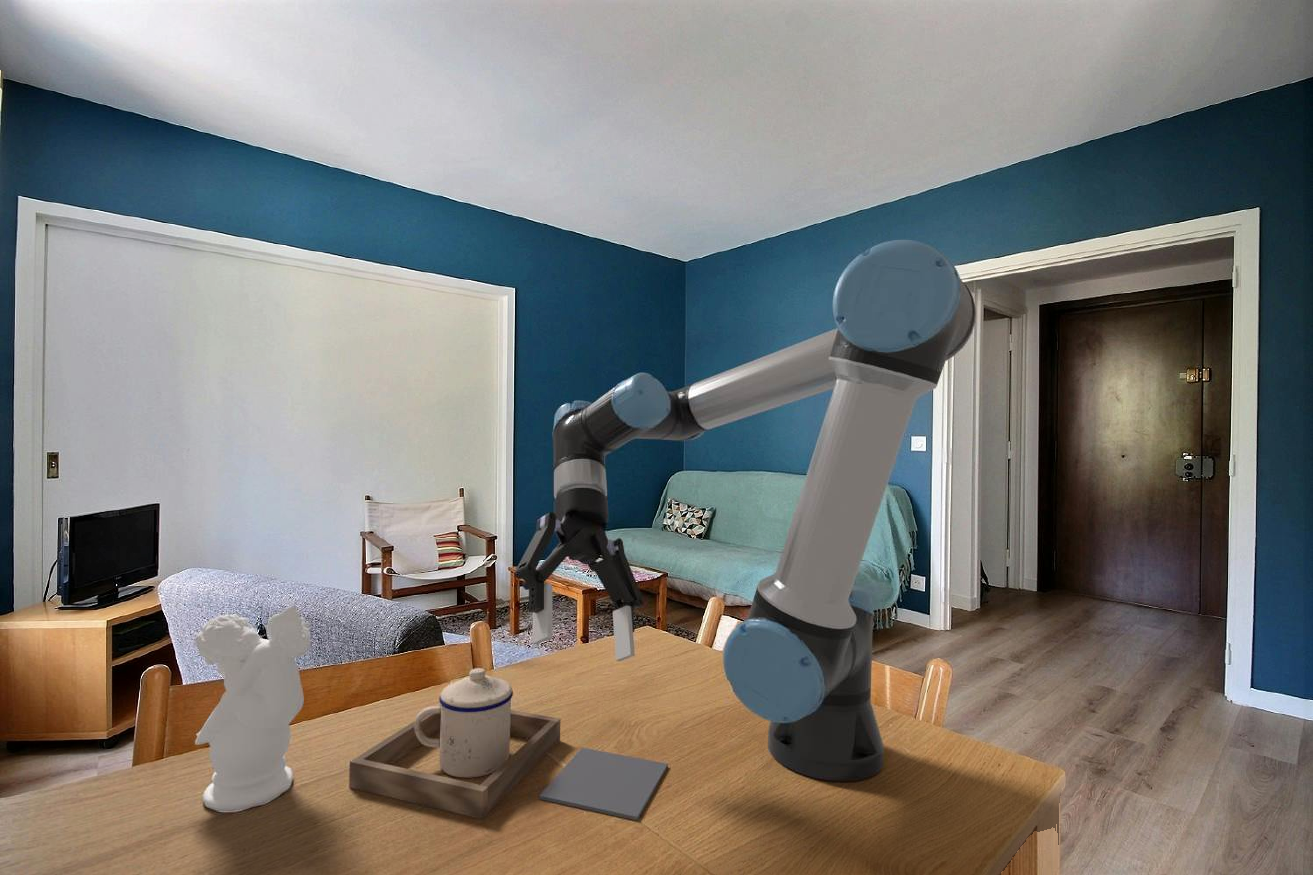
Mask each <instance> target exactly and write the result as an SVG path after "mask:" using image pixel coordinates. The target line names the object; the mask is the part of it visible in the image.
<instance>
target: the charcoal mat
mask: <svg viewBox="0 0 1313 875" xmlns="http://www.w3.org/2000/svg"><path fill="white" fill-rule="evenodd" d="M668 766H669V763H667V762H661V761H655V760H650V759H645V758H639V757H635V756H630V755H629V756H628V755H624V754H618V753H614V752H608V751H602V750H597V749H592V748H587V747H581V748H580V749H579V750H578V751H577V752H576V754H575V755H574V756H573V757H572V758H571V759H570V760H569V761H568V763H567V764H566V765H565V766H564V767H563V768H562V769H561V771H560V772H559V773H558V774H557V775H556V776H555V777H554V778H553V779H552V780H551V781H550V783H549V784H548V785H547V786H546V787H545V788H544V789H543V791H541V793H540V794H539V795H538V799H539V800H543V801H547V802H551V803H555V804H561V805H565V806H570V807H574V808H578V809H583V810H588V811H592V812H595V813H600V814H606V815H610V816H615V817H620V818H622V819H629V820H633V821H638V820H639V818H640V816H641V814H642V813H643V811H644V809H645V808H646V806H647V804H648V803H649V802H650V801H649V800H650V799H651V797H652V796H653V794H654V792H655V790H656V788H657V786H658V785H659V783H660V781H661V780H662V778H663V776H664V775H665V772H666V771H667V769H668Z"/></svg>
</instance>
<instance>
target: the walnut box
mask: <svg viewBox="0 0 1313 875" xmlns="http://www.w3.org/2000/svg"><path fill="white" fill-rule="evenodd" d="M438 706H441V704H440V705H438ZM414 723H415V720H414V721H413V722H411V723H409V724H408V725H405V727H403V728H402V729H400V730H398V731H396V732H395V733H393V734H391V735H390V736H389V737H387V738H385V739H384V740H382V741H381V742H379V743H377V744H376V745H374V746H372V747H371V748H369V749H368V750H367V751H365V752H363V753H362V754H360V755H358V756H356V757H355V758H353V759H352V760H350V761H349V777H348V778H349V780H348V788H351V789H355V790H359V791H362V792H366V793H371V794H376V795H378V796H379V795H380V796H383V797H388V798H393V799H396V800H401V801H406V802H410V803H412V804H418V805H422V806H425V807H430V808H434V809H439V810H442V811H447V812H451V813H455V814H459V815H463V816H468V817H471V818H476V819H480V820H483V818H485V817H486V816H487V815H488V814H489V813H490V812H491V811H492V810H493V809H494V808H495V807H496V806H497V804H498V803H500V801H502V800H503V799H504V797H505V796H507V795H508V793H510V792H511V790H512V789H513V788H514V787H516V785H517V784H519V782H520V781H521V780H522V779H524V778H525V777H526V776H527V774H528V773H529V772H530V771H532V769H533V768H535V766H536V765H537V764H538V763H539V762H540V761H541V760H543V758H544V757H545V756H546V755H547V754H548V753H549V752H550V751H551V750H552V749H553V748H554V747H555V746H556V745H557V744H558V743H559V742H560V741H561V718H560V717H552V716H548V715H543V714H536V713H531V712H526V711H525V712H524V711H520V710H519V711H518V710H513V709H511V713H510V736H515V737H519V738H523V739H524V738H525V739H529V740H528V741H526V743H525V744H523V745H522V746H520V748H519V749H518V750H517V751H516V752H515V753H513V754H512V755H511V756H509V758H508V760H507V761H506V762H505V763H504V764H503V765H501V766H500V767H499V768H498V769H497V770H496V771H495V772H493V773H491V774H489V776H488V777H487V778H486V779H484V781H483V782H482V783H481V784H477V783H473V782H469V781H464V780H459V779H455V778H452V777H451V778H450V777H446V776H443V775H442V776H440V775H437V774H432V773H427V772H425V771H424V772H423V771H419V770H414V769H410V768H409V769H408V768H405V767H400V766H396V765H393V764H395V762H396V763H397V761H399V760H400V759H401V758H403V757H404V756H406V755H408V754H409V753H410V752H412V751H413V750H414V749H416V748H418V747H419V746H420V745H423V744H422V743H421V742H420V741H419V740H418V738H417V736H416V734H415V730H414ZM420 725H421V729H422V731H423V733H424V734H425V735H426V736H427V737H428V738H431V737H432V738H433V736H435V735H436V734H438V733H440V726H441V714H429V715H426V716H425V717H423V718H422V719H421V721H420Z"/></svg>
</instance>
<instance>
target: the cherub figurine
mask: <svg viewBox="0 0 1313 875" xmlns="http://www.w3.org/2000/svg"><path fill="white" fill-rule="evenodd" d="M300 616H301V611H300V610H297V605H296V603H294V604H292V605H291V606H288V607H287V608H286V609H284V610H283V611H281V612H280V613H277V614H273V616H271V617H270V618H269V619H268V620H267V623H266V624H267V625H266V632H267V633H266V636H267V638H268V639H265V638H263V637H264V636H265V634H264V635H259V634H258V632H257V631H256V629H255V628H254V626H253V625H252V624H251V623H249V621H250V619H249V618H248V617H241V616H238V614H237V613H234V614H233V613H232V614H228V613H226V614H219V615H217V616H216V617H215V618H214V617H213V618H211V619H209V621H207V622H206V623H205V624H204V625H202V626H201V628H200V631H199V632H198V634H196V635H195V638H194V644H195V645H196V647H197V650H198V654H199V656H200V657H202V658H204V661H205V663H206V664H207V665H215V664H217V668H216V670H217V673H218V674H219V675H220V676H222V677H224V678H223V685H224V689H225V692H223V694H222V696H221V698H220V700H219V702H218V704H217V705H216V706H215V707H214V709H213V710H212V712H211V714H210V715H209V717H208V718H207V720H206V721H205V723H204V724H203V726H202V728H201V729H200V731H199V732H197V733H196V734H195V736H196V739H195V741H194V745H195V746H196V745H199V746H200V745H203V744H206V743H208V745H209V750H208V757H209V758H208V759H209V761H210V764H211V766H212V769H213V770H214V772H213V774H212V777H211V782H212V783H210V784H209V785H208V786H207V787H206V789H205V790H204V792H203V794H202V801H203V803H204V806H205V807H207V808H208V809H211V810H214V811H216V812H219V813H238V812H241V811H244V810H248V809H250V808H253V807H258V806H262V805H267V804H268V803H271V801H273V800H275V799H277V798H278V797H279V796H280V795H282V794H283V793H285V792H286V791H287V790H289V789H290V787H291V786H292V783H293V778H294V773H293V770H292V768H290V767H289V766H287V759H286V757H285V754H286V752H288V751H287V750H288V749H289V746H290V740H291V727H290V723H292V722H293V720H294V719H295V717H296V716H297V714H298V713H300V712H301V710H302V708H303V706H304V698H305V696H304V691H303V686H302V682H301V678H300V671H299V665H298V663H297V661H296V658H297V657H298V658H301V657H302V656H305V655H306V654H307V653H308V652H309V651H311V649H312V646H311V645H312V641H311V640H312V639H311V633H310V631H311V628H309V627H310V623H309V621H307V619H306V618H305V617H300ZM306 621H307V622H306Z"/></svg>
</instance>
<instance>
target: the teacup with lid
mask: <svg viewBox="0 0 1313 875" xmlns="http://www.w3.org/2000/svg"><path fill="white" fill-rule="evenodd" d="M468 675H469V676H468ZM468 675H467V676H465V677H464V678H462V679H460V680H459V679H458V680H456V681H453V682H451V683H449V684H448V685H447V686H446V687H444V688H443V690H442V691H441V692H440V696H439V703H440V705H441V706H439V705H431V706H427V707H425V708H423V709H421V710H420V711H419V713H418V714H417V715H416V717H415V720H414V721H415V723H414V730H415V734H416V736H417V738H418V740H419V741H420V742H421V743H422V744H421V745H423V746H426V747H429V748H439V761H438V763H439V766H440V769H441V771H443V772H444V773H446V774H447V775H449V776H453V777H455V778H465V779H470V778H479V777H484V776H487V775H491V774H493V773H494V772H495V771H496V770H497V769H498V768H499V767H500V766H501V765H503V764H504V763H505V762H506V761H507V760H508V759H509V758H510V748H511V747H510V745H511V744H510V742H511V741H510V740H511V737H510V736H511V735H510V713H511V710H512V709H511V708H512V707H511V706H512V705H511V704H512V698H513V696H514V691H513V689H512V686H511V684H510V683H509V682H508V681H506V680H504V679H502V678H500V677H499V678H498V677H493V676H490V675H488V674H486V670H485V669H484V668H482V667H481V668H480V667H477V668H476V667H475V668H473V669H471V670H470V671H469V674H468ZM429 714H441V726H440V731H439V738H431V737H430V738H428V737H427V736H426V735H425V734H424V733H423V731H422V729H421V725H420V721H421V719H422V718H423V717H425V716H426V715H429Z"/></svg>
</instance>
